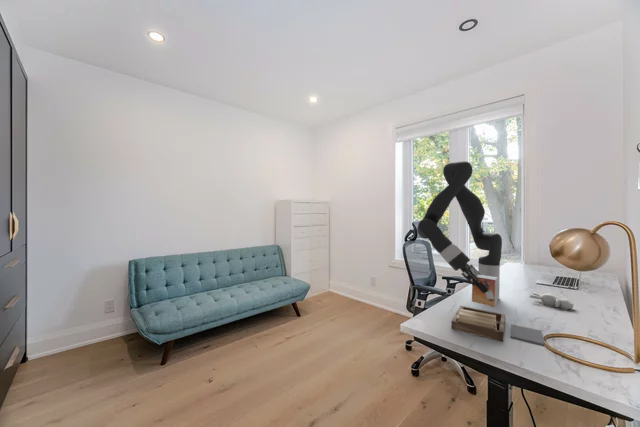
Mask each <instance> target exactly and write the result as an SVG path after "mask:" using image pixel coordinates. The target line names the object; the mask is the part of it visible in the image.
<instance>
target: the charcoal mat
mask: <svg viewBox="0 0 640 427" xmlns="http://www.w3.org/2000/svg"><path fill="white" fill-rule="evenodd" d="M510 338H511V339H515V340H517V341H518V340H519V341H523V342H526V343H532V344H536V345H540V346H545V342H544V337H543V332H542V330H540V329H537V328H531V327H526V326H521V325H516V324H512V323H511V324H510Z"/></svg>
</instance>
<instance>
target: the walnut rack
mask: <svg viewBox="0 0 640 427" xmlns="http://www.w3.org/2000/svg"><path fill="white" fill-rule="evenodd" d="M460 309H464V310H470V311H475V312H481V313H486V314H492V315H496V326H497V330H494V329H490V328H486V327H481V326H477V325H472V324H468V323H464V322H459V321H457V317H458V313H459V312H460ZM450 322H451V323H450V324H451V325H450V326H451V330H453V331H454V330H456V331H459V332H463V333H467V334H471V335H475V336H480V337H482V338H486V339H487V338H488V339H491V340H496V341H499V342H504V335H505V328H506V326H505V325H506V314H505V313H501V312H500V313H499V312H495V311H490V310H485V309H480V308H475V307H470V306H466V305H465V306H464V305H460V306H459V308H458V310H457V311H456V312H455V315H454V316H453V318H452V319H451V321H450Z"/></svg>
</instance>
